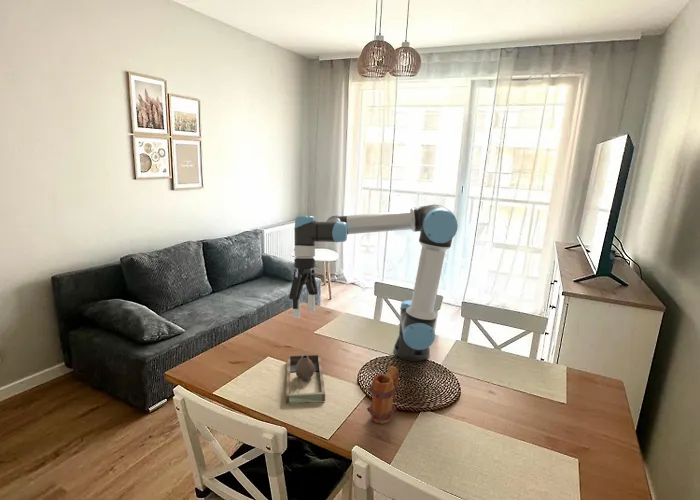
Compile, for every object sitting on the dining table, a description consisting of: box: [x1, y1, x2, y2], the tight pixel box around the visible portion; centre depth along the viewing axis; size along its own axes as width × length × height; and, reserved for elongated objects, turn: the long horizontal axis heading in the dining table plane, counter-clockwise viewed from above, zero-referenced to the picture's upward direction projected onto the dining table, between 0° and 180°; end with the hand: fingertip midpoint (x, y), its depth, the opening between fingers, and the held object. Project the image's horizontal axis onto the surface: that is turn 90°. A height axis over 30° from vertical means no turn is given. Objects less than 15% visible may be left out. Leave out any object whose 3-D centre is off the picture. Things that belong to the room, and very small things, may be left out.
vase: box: [295, 354, 315, 382], centre depth 148 cm, size 7×7×9 cm
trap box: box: [285, 353, 326, 405], centre depth 147 cm, size 28×13×3 cm, turn 8°
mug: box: [366, 365, 400, 424], centre depth 127 cm, size 15×8×15 cm, turn 148°
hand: (304, 314), depth 148 cm, fingers open, 13 cm apart
